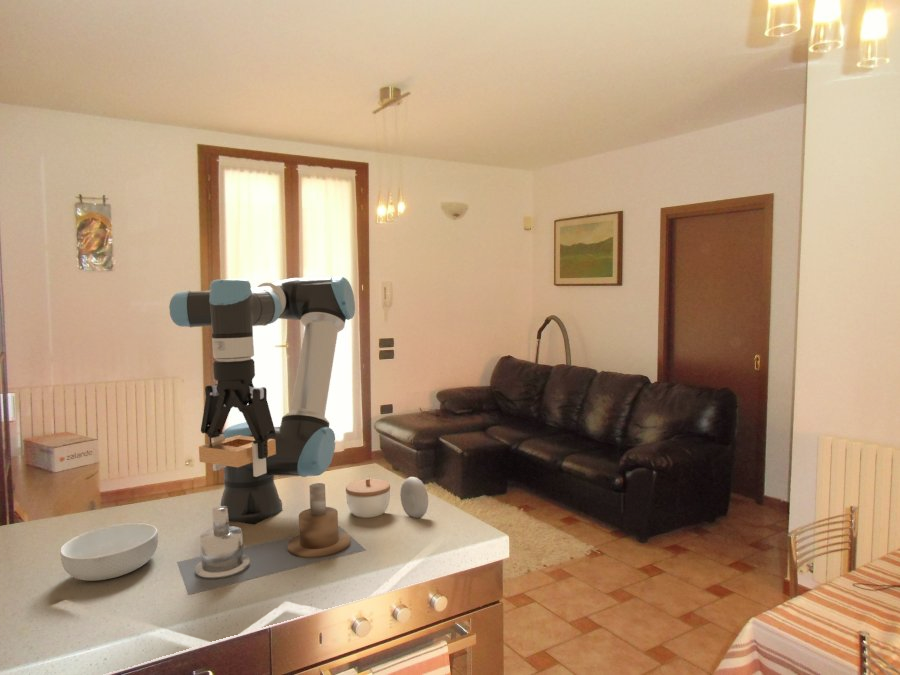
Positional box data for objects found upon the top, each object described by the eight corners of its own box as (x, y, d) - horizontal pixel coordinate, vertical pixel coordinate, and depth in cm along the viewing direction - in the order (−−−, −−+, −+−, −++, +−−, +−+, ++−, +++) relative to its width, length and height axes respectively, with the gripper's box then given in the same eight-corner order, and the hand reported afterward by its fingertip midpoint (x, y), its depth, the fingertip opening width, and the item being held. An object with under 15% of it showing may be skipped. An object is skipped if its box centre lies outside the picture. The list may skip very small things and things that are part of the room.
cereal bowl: (97, 555, 128) (95, 522, 127) (175, 554, 127) (173, 521, 127) (40, 594, 111) (38, 557, 110) (129, 594, 110) (127, 556, 110)
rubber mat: (188, 601, 107) (188, 594, 107) (177, 567, 120) (177, 561, 120) (366, 555, 124) (366, 549, 124) (339, 530, 138) (338, 525, 138)
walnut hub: (274, 552, 124) (271, 491, 123) (313, 529, 136) (311, 473, 135) (326, 562, 119) (324, 498, 118) (362, 537, 130) (360, 479, 130)
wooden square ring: (199, 461, 116) (198, 446, 116) (238, 449, 125) (238, 435, 124) (238, 467, 111) (237, 451, 111) (275, 453, 120) (275, 439, 120)
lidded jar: (337, 517, 146) (336, 479, 146) (371, 505, 154) (370, 469, 154) (365, 528, 139) (364, 488, 139) (400, 515, 147) (399, 477, 146)
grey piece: (431, 522, 142) (430, 480, 141) (419, 525, 140) (418, 483, 139) (410, 510, 150) (409, 471, 149) (398, 513, 148) (397, 473, 147)
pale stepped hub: (183, 574, 115) (180, 513, 114) (223, 553, 124) (220, 497, 123) (222, 583, 111) (219, 520, 110) (260, 561, 120) (258, 503, 119)
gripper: (176, 359, 118) (183, 470, 120) (264, 362, 108) (269, 483, 110) (207, 355, 125) (213, 460, 127) (292, 358, 115) (297, 472, 117)
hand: (239, 471), depth 118 cm, fingers closed on wooden square ring, 10 cm apart
